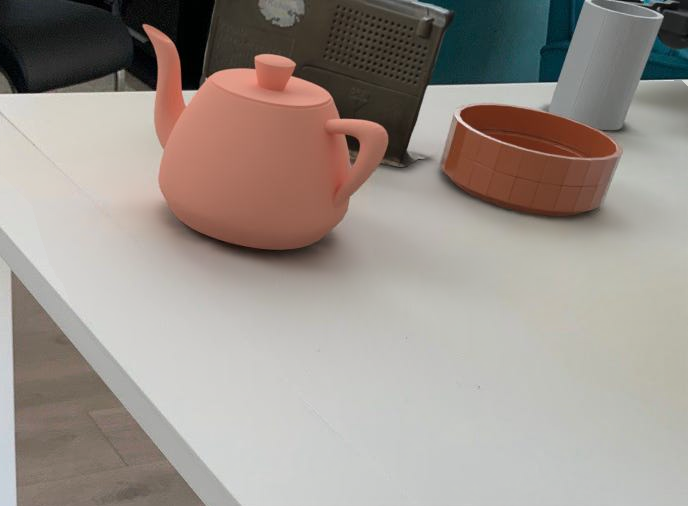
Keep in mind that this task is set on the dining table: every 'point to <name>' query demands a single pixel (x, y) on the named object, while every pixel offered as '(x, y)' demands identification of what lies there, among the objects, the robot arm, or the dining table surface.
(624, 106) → the cup
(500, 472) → the dining table surface
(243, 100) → the teapot
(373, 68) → the radio
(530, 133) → the bowl
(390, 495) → the dining table surface
